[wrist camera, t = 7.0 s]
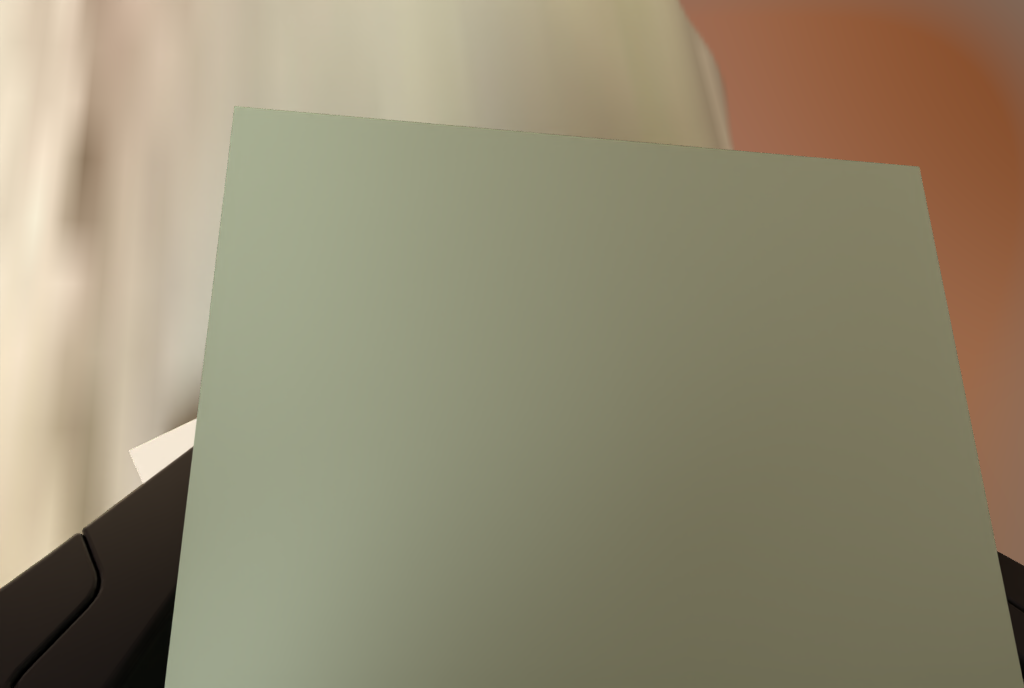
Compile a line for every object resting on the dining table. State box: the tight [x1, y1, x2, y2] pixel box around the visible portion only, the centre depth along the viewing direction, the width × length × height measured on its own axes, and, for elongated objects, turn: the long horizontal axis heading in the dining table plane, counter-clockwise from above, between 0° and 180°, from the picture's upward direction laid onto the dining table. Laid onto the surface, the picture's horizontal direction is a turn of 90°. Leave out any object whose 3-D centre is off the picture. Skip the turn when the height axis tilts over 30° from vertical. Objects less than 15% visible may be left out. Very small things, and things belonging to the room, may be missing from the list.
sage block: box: [164, 106, 1024, 688], centre depth 9 cm, size 5×5×10 cm
